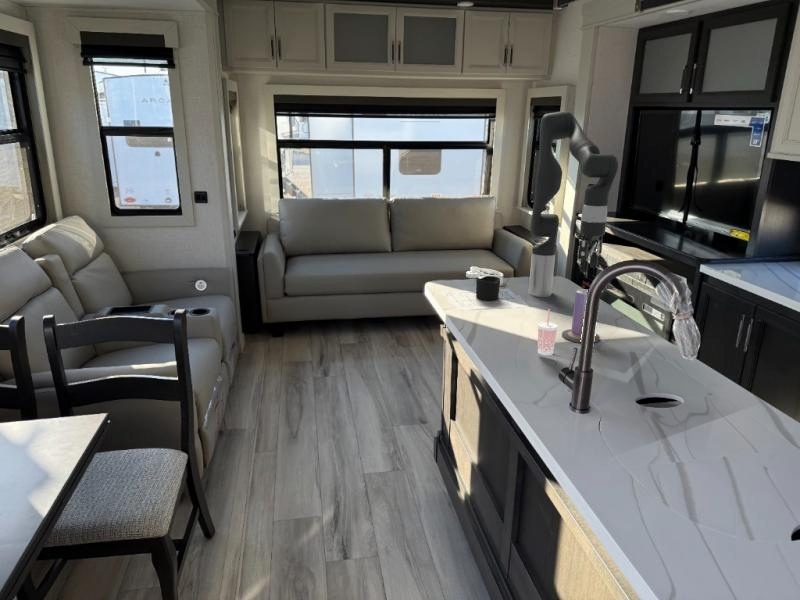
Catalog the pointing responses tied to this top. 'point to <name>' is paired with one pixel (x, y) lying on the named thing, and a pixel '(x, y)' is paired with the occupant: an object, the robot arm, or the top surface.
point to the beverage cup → (546, 336)
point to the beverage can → (579, 311)
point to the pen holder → (487, 288)
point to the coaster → (570, 337)
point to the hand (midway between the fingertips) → (588, 269)
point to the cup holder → (476, 273)
